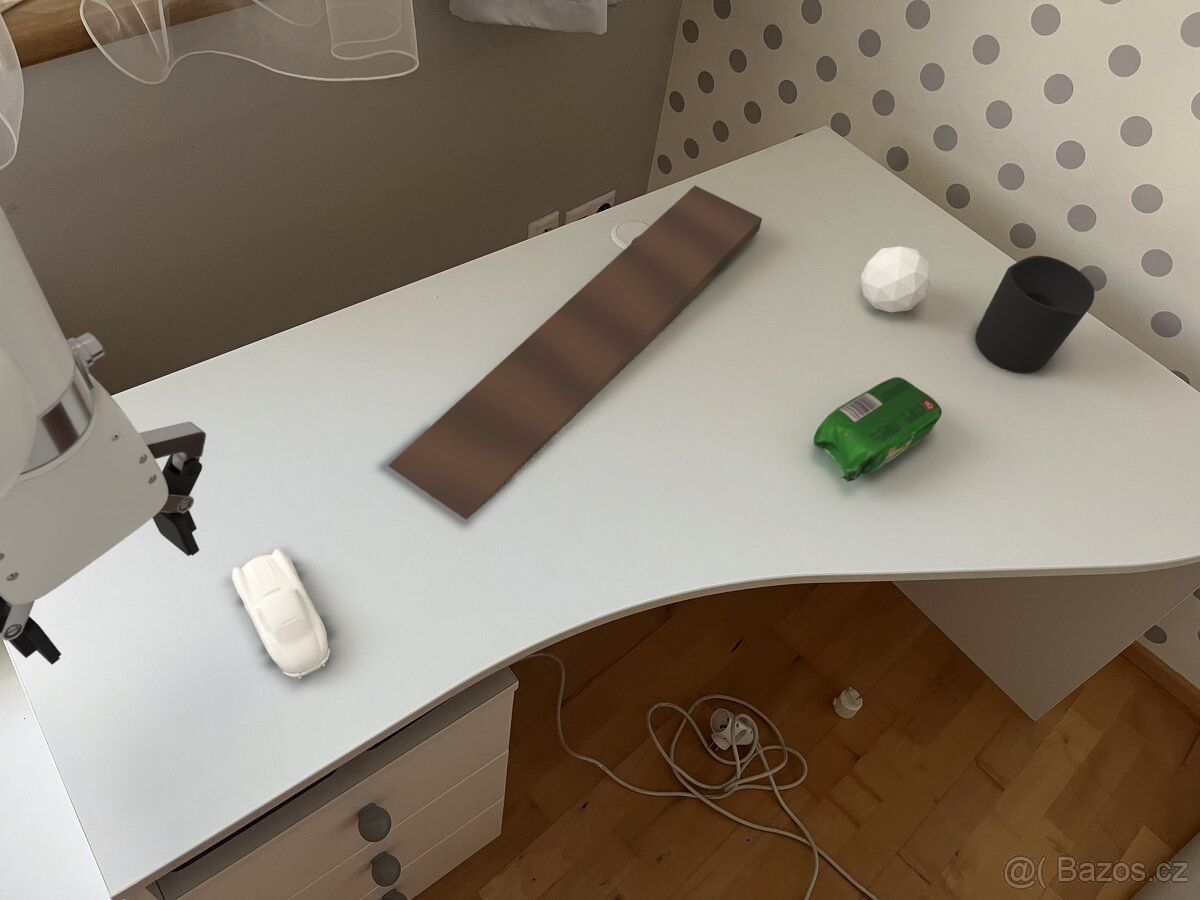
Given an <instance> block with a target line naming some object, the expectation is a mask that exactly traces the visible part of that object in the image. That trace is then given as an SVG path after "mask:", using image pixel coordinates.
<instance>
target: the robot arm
mask: <svg viewBox="0 0 1200 900" xmlns="http://www.w3.org/2000/svg"><path fill="white" fill-rule="evenodd" d="M105 354H106V351H105V349H104V347H103V345H102V344H101V342H100V341H99V340H98V339H97V338H96V336H94V335H93V334H92V333H90V332H88V331H87V332H85V333H84V334H82V335H80V336H78V337H77V338H75V337H71V338H68V339H67V338H66V336H65V334H64V332H63V330H62V329H61V326H60V324H59V322H58V321H57V318H56V317H55V313H54V312H53V310H52V309H51V306H50V304H49V302H48V300H47V298H46V296H45V294H44V292H43V290H42V288H41V286H40V284H39V281H38V280H37V277H36V276H35V273H34V270H33V269H32V267H31V265H30V263H29V260H28V258H27V256H26V255H25V253H24V250H23V248H22V246H21V244H20V243H19V241H18V238H17V236H16V234H15V231H14V229H13V228H12V226H11V224H10V221H9V219H8V218H7V215H6V213H5V211H4V209H3V208H2V205H1V204H0V638H1V639H2V640H3V641H8V642H9V644H11V646H13V648H15V650H17V651H18V653H20V654H21V655H22V656H23V657H24V658H25V659H27V658H29V657H31V655H33V654H34V653H35V652H38V653H39V655H41V656H42V657H43V658H44V659H45V660H46V661H47V662H48V663H49V664H50V665H51V666H53V665H54V664H55V663H56V662H58V661H59V660H60V659H61V658H60V657H61V656H62V653H61V652H60V650H59V649H58V647H57V646H56V645H55V644H54V642H53V641H52V640H51V639H50V637H49V636H48V635H47V634H46V632H45V631H44V630H43V628H42V627H41V626H40V625H39V624H38V622H36V620H34V619H33V618H32V617H31V616H30V615H31V612H32V609H33V607H34V604H35V601H37V600H40V599H41V598H43V597H45V596H46V595H47V594H49V593H51V592H53V591H54V590H56V589H57V588H59V587H60V586H62V585H63V584H64V583H66V582H68V581H69V580H70V579H72V578H73V577H74V576H76V575H78V573H80V572H81V571H82V570H84V569H85V568H87V567H88V566H89V565H91V564H92V563H93V562H95V561H96V560H98V559H100V557H102V556H104V554H106V553H107V552H109V551H110V550H111V549H113V548H114V547H115V546H117V545H118V544H119V543H121V542H122V541H124V540H125V539H126V538H128V537H129V536H130V535H132V534H133V533H134V532H136V531H137V530H138V529H140V528H141V527H143V526H144V525H145V524H147V523H148V522H149V521H150V520H151V519H152V520H153V522H154V524H155V526H156V528H157V531H158V532H159V534H160V535H161V536H163V537H164V538H165V539H166V540H168V542H170V543H171V544H172V545H174V546H175V547H176V548H177V549H179V550H180V551H181V552H182V553H183V554H184V555H186V556H187V557H190V556H192V557H193V556H195V555H196V554H197V553H199V551H200V548H199V545H198V543H197V540H196V538H195V536H194V534H193V532H195V531H197V528H198V527H197V526H196V523H195V521H194V518H193V516H192V513H191V512H190V510H191V509H192V507H193V505H194V503H195V499H194V497H193V496H191V493H192V491H193V489H194V487H195V484H196V482H197V481H198V479H199V477H200V475H201V472H202V470H203V464H202V463H201V462H200V460H201V458H202V457H203V453H204V448H205V444H206V439H207V433H206V432H205V431H204V430H203V429H201V428H200V427H198V426H197V425H196V424H195V423H193V422H192V421H185V422H181V423H176V424H172V425H168V426H163V427H159V428H155V429H151V430H145V431H142V432H139V431H138V430H137V428H136V427H135V425H134V424H133V423H132V421H131V419H130V418H129V416H128V415H126V413H125V411H124V410H123V409H122V408H121V406H120V405H119V404H118V403H117V401H116V400H115V399H114V398H113V397H112V395H111V394H110V393H109V392H108V391H107V389H105V387H104V386H103V385H102V384H101V383H100V382H99V381H98V380H96V379H95V377H94V376H93V375H92V374H91V373H90V367H91V366H93V365H94V364H95V361H96V360H98V359H99V358H101V357H103V356H105ZM165 457H168V458H167V460H166V462H165V465H164V467H163V468H162V469H161V468H160V465H159V463H158V461H157V459H161V458H165Z"/></svg>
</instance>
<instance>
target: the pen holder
mask: <svg viewBox="0 0 1200 900" xmlns="http://www.w3.org/2000/svg"><path fill="white" fill-rule="evenodd" d="M1094 299H1095V288H1094V286H1093V284H1092V283H1091V281H1090V280H1089V279H1088V277H1087V276H1086V275H1084V274H1083V273H1082V272H1081V271H1080V270H1079V269H1077V268H1076V267H1074V266H1072V265H1071V264H1069V263H1068V262H1065V261H1063V260H1060V259H1058V258H1054V257H1051V256H1046V255H1032V256H1028V257H1026V258H1022V259H1020V260H1019V261H1017V262H1015V263H1013V264H1012V265H1010V266H1009V267H1008V268H1007V269H1006V271H1005V273H1004V275H1003V277H1002V279H1001V280H1000V282H999V285H998V287H997V288H996V291H995V293H994V295H993V296H992V298H991V300H990V303H989V304H988V306H987V308H986V310H985V312H984V314H983V316H982V318H981V319H980V322H979V325H978V326H977V328H976V331H975V343H976V345H977V347H978V349H979V351H980V352H981V353H982V355H983V356H984V357H985V358H986V359H987V360H989V361H990V362H991V363H993V364H994V365H996V366H998V367H1000V368H1002V369H1004V370H1008V371H1011V372H1015V373H1030V372H1035V371H1039V370H1040V369H1042V368H1044V367H1045V366H1046V365H1047V364H1048V363H1049V361H1050V360H1051V359H1052V358H1053V357H1054V355H1055V354H1056V352H1057V351H1058V350H1059V349H1060V347H1061V346H1062V345H1063V344H1064V343H1065V341H1066V339H1068V337H1069V336H1070V334H1071V333H1072V332H1073V331H1074V329H1075V328H1076V327H1077V325H1078V324H1079V323H1080V321H1081V320H1082V319H1083V318H1084V316H1085V315H1086V314H1087V312H1088V311H1089V309H1090V308H1091V307H1092V304H1093V303H1094Z"/></svg>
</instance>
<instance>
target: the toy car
mask: <svg viewBox="0 0 1200 900" xmlns="http://www.w3.org/2000/svg"><path fill="white" fill-rule="evenodd" d="M231 574H232V575H231V579H232V582H233V585H234V587H235V590H236V592H237V593H238V596H239V597H240V599H241V601H242V602H243V605H244V607H245V610H246V612H247V614H248V616H249V617H250V619H251V621H252V623H253V626H254V628H255V630H256V631H257V634H258V636H259V638H260V640H261V642H262V644H263V646H264V647H265V649H266V651H267V653H268V655H269V656H270V658H271V659H272V660H273V662H274V663H275V664H276V665H277V666H278V667H279V668H280V669H281V670H282V671H281V672H282V673H283V674H284V675H286V676H288V677H292V678H294V680H296V679H297V678H298V679H299V680H300V679H302V677H303V676H306V675H307V674H309V673H312V672H314V671H316V670H318V669H321V667H323V668H324V667H326V664H325V663H326V662H328V659H329V657H330V654H331V647H329V643H328V636H327V631H326V627H325V624H324V623H323V620H322V618H321V616H320V615H319V613H318V612H317V610H316V608H315V606H314V604H313V601H312V600H311V598H310V596H309V595H308V593H307V591H306V589H305V586H304V584H303V582H302V580H301V579H300V577H299V575H298V572H297V570H296V567H295V565H294V564H293V562H292V560H291V558H290V557H289V556H288V555H287V554H286V552H284V551H282V550H281V549H280V548H276V549H274V550H273V552H272V553H271V554H263V555H259V556H256V557H254V558H252V559H250V560H249V561H248V562H246V563H245V564H244V565H243V566H242V567H239V566H235V567H233V569H232V572H231Z"/></svg>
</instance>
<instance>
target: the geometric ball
mask: <svg viewBox="0 0 1200 900" xmlns="http://www.w3.org/2000/svg"><path fill="white" fill-rule="evenodd" d="M860 281H861V288H862V296H864V297H865V298H866V299H867V301H868V302H869V304H871V305H872V307H873V308H874V309H877V310H880V311H883V312H887V313H897V312H898V313H899V312H907V311H911V309H913V308H914V307H915V306H916V305H917V304H919V303H920V302H921V301H922V300H923V299H924V298H925V297H926V295H927V293H928V290H929V288H930V286H931V284H932V279H931V269H930V263H929V262H928V261H927V260H926V258H924V257H923V256H922V254H921V253H920V252H919V251H918V250H917V249H915V248H910V247H906V246H902V245H901V246H891V247H884V248H883V247H882V248H881V249H880V250H878V251H877V253H875V254H874V255H873V256H872V257H871V258H870V259H869V260H868V261H867V263H866V265H865V267H864V268H863V271H862V273H861V274H860Z"/></svg>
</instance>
